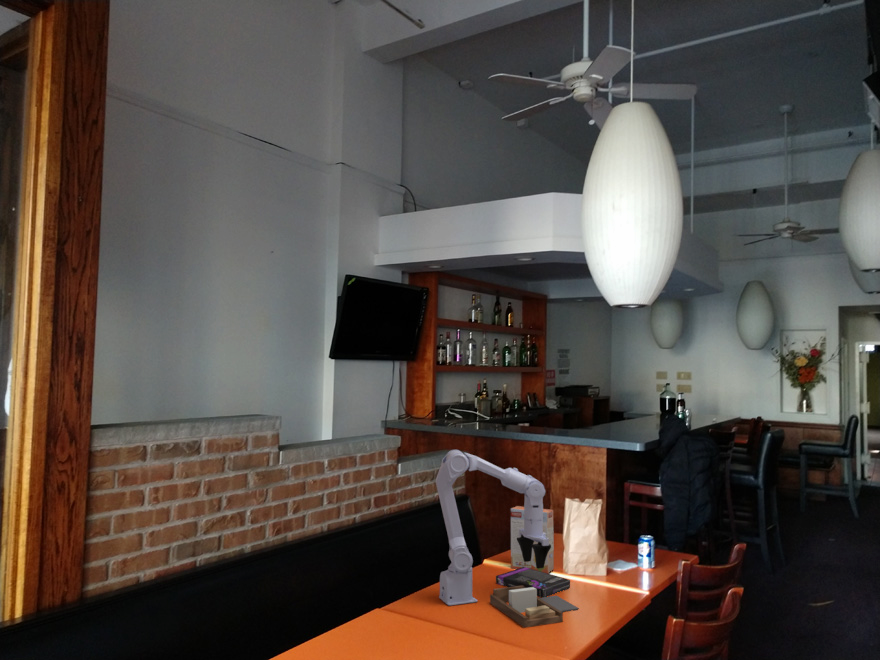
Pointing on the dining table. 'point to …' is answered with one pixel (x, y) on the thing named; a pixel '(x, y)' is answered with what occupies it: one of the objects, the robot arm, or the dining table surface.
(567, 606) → the mat
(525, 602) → the light grey block
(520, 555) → the cracker box
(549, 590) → the box
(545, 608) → the offcuts
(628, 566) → the dining table surface
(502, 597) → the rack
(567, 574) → the dining table surface
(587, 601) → the dining table surface
